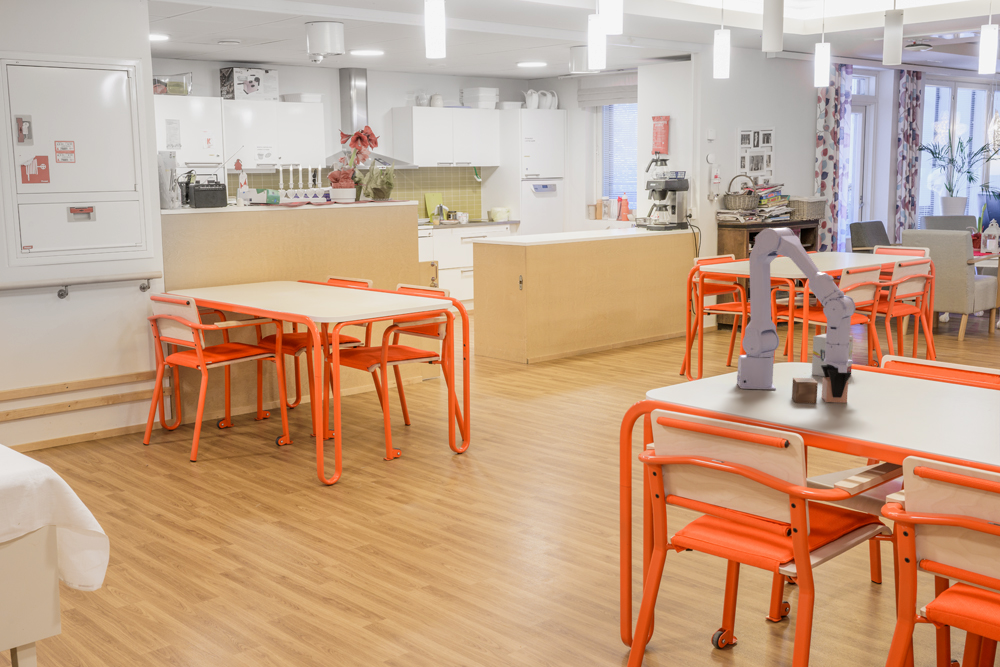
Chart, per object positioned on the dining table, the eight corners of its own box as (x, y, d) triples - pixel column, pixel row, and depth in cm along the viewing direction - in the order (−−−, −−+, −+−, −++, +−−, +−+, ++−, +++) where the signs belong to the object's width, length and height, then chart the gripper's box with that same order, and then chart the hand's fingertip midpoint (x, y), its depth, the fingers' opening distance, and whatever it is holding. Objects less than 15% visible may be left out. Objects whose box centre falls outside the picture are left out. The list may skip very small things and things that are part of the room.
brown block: (795, 402, 241) (796, 381, 241) (791, 398, 247) (792, 377, 246) (816, 403, 241) (817, 382, 240) (812, 398, 246) (813, 378, 245)
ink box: (825, 370, 283) (827, 331, 281) (852, 375, 277) (854, 335, 275) (810, 374, 278) (812, 335, 276) (837, 379, 271) (840, 338, 270)
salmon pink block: (826, 402, 243) (827, 381, 242) (821, 397, 248) (822, 377, 247) (846, 402, 242) (848, 381, 241) (841, 398, 247) (843, 377, 246)
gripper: (861, 348, 235) (857, 401, 237) (846, 338, 249) (843, 389, 251) (831, 347, 236) (828, 400, 238) (819, 338, 250) (816, 388, 252)
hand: (834, 394), depth 245 cm, fingers closed on salmon pink block, 5 cm apart
